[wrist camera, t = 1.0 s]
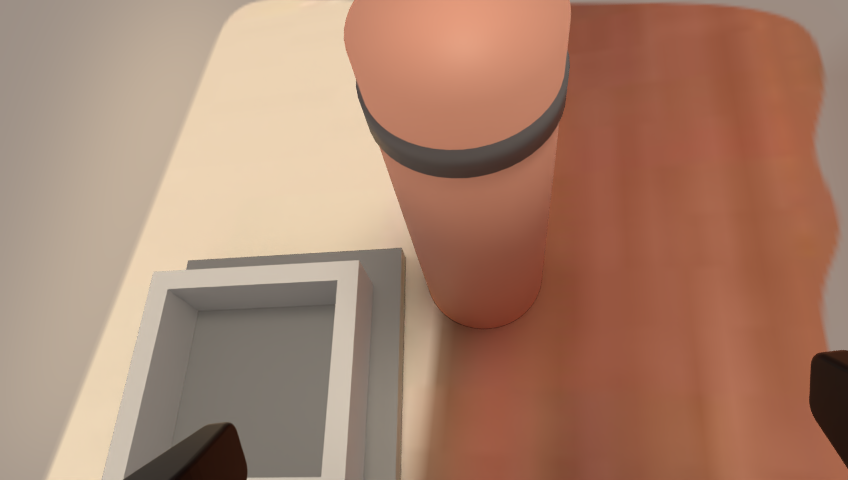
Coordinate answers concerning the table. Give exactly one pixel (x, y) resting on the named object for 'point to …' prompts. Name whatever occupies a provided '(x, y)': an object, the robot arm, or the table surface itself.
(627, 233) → the table surface
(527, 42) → the banded pink rod
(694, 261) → the table surface
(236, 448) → the robot arm
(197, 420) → the jig
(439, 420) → the table surface
